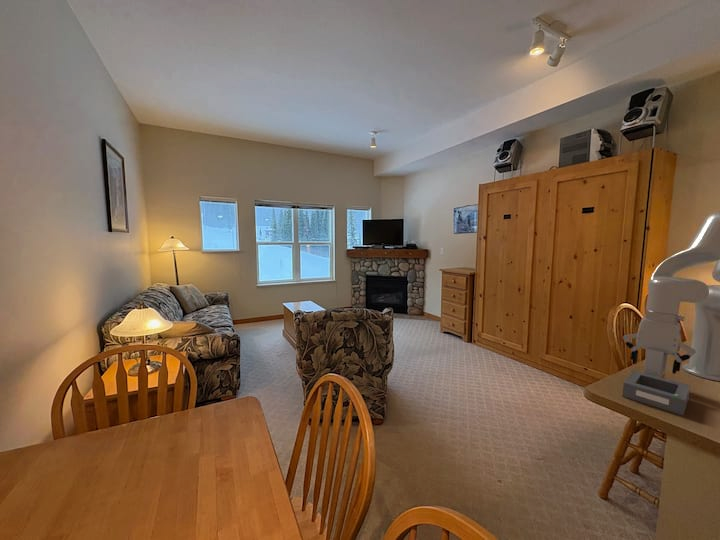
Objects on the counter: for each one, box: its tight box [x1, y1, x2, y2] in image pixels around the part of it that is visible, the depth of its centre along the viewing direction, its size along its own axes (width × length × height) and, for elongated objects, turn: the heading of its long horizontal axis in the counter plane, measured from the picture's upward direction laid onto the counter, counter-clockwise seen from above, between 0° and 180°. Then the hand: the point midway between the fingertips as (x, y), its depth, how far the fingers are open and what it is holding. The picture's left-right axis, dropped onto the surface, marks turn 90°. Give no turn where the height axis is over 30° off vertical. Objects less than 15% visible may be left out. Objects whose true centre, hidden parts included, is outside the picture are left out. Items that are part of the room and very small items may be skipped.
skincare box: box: [642, 349, 669, 379], centre depth 102 cm, size 6×4×12 cm
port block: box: [621, 370, 691, 416], centre depth 93 cm, size 13×13×5 cm
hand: (653, 367), depth 102 cm, fingers open, 9 cm apart
